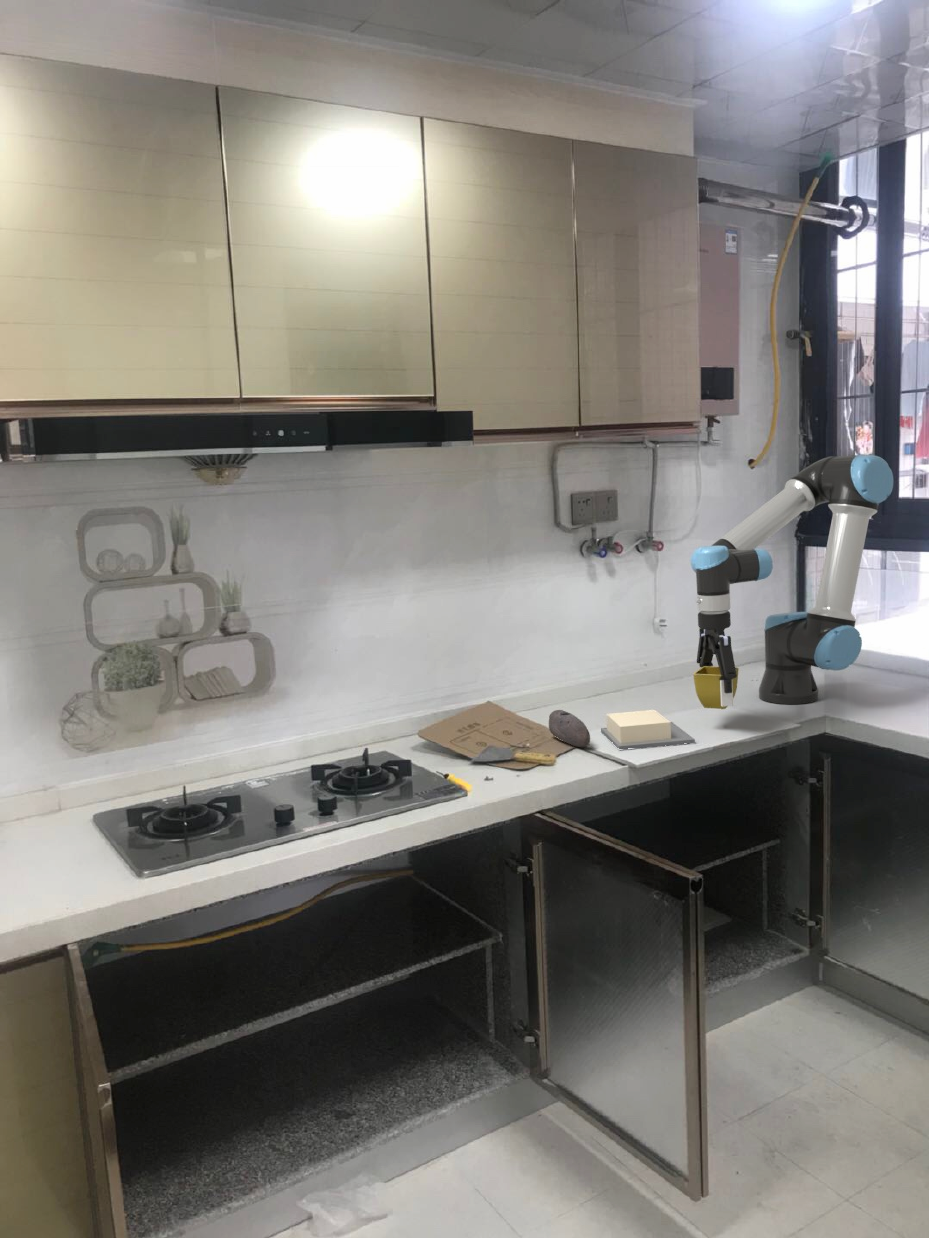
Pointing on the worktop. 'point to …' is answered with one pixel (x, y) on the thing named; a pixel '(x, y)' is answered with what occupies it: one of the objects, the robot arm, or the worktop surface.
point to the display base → (674, 739)
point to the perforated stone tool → (569, 728)
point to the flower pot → (711, 686)
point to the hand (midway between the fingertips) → (717, 699)
